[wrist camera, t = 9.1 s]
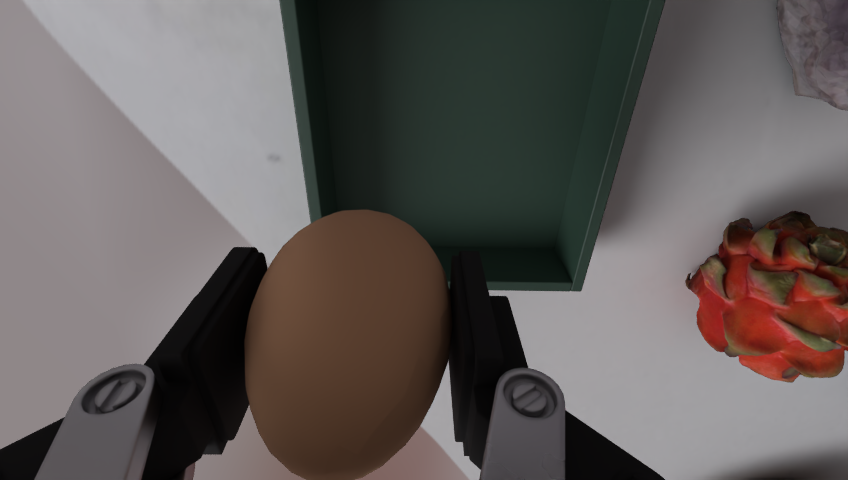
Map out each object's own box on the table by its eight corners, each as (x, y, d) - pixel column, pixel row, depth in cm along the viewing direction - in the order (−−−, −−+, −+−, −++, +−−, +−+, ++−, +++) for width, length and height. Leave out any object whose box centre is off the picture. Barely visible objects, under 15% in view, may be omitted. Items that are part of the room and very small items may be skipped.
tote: (333, 247, 25) (319, 288, 21) (303, -25, 18) (274, -31, 14) (559, 251, 25) (581, 291, 22) (622, -16, 18) (671, -19, 14)
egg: (270, 194, 13) (104, 408, 6) (424, 155, 12) (429, 348, 6) (328, 311, 16) (257, 553, 9) (458, 284, 15) (489, 523, 8)
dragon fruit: (715, 165, 24) (728, 283, 31) (643, 269, 22) (674, 371, 29) (940, 184, 17) (892, 329, 24) (868, 337, 15) (838, 448, 22)
